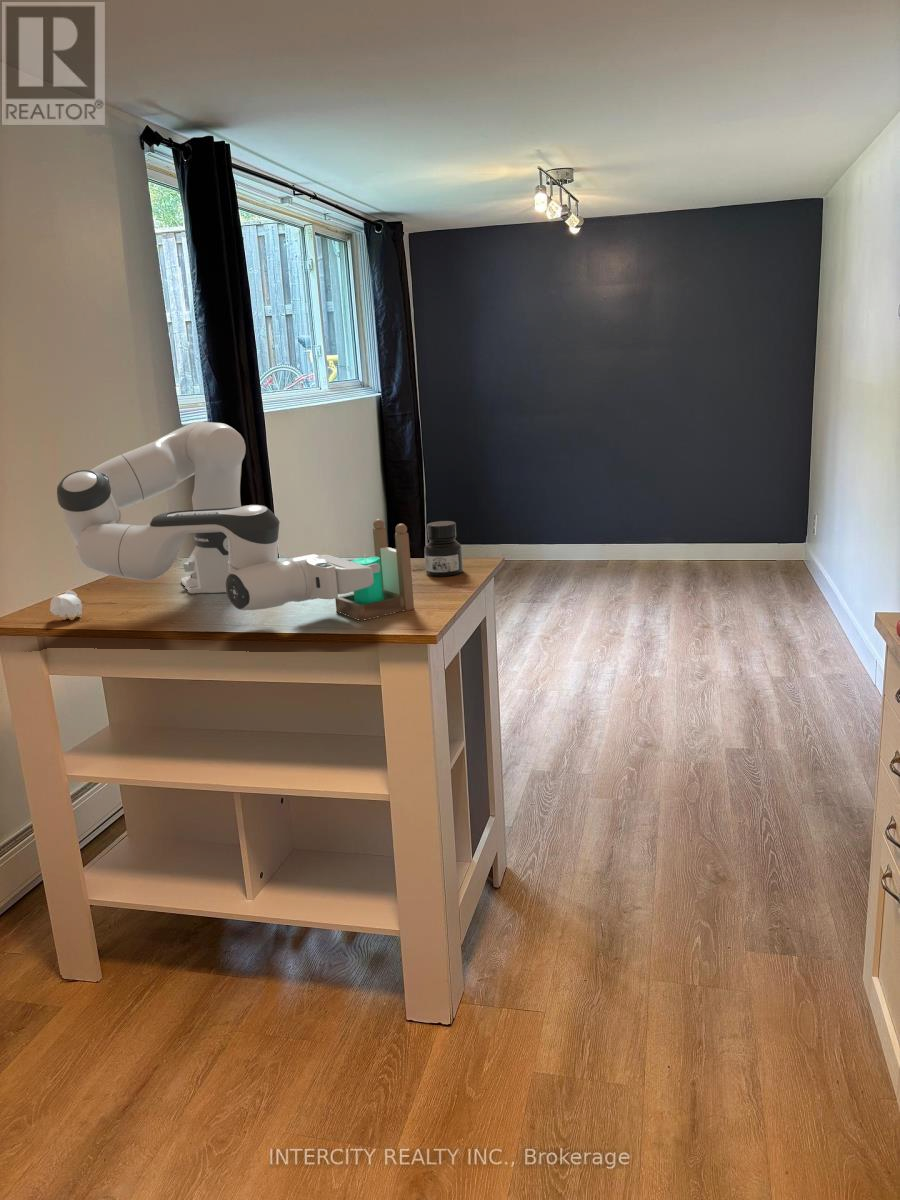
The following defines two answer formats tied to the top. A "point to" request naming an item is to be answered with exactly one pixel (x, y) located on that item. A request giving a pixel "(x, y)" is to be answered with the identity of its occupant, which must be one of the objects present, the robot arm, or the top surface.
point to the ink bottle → (443, 550)
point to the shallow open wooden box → (370, 606)
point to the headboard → (394, 561)
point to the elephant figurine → (66, 604)
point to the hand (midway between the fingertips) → (370, 564)
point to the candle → (373, 591)
